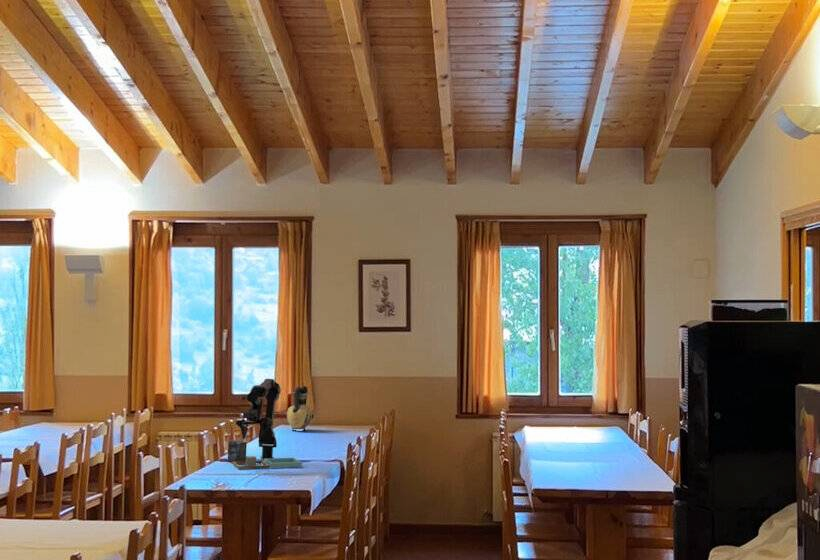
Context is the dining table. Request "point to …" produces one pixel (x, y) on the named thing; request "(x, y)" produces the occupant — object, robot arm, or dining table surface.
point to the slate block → (250, 461)
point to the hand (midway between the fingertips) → (251, 438)
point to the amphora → (299, 410)
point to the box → (237, 451)
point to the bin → (282, 462)
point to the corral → (249, 466)
